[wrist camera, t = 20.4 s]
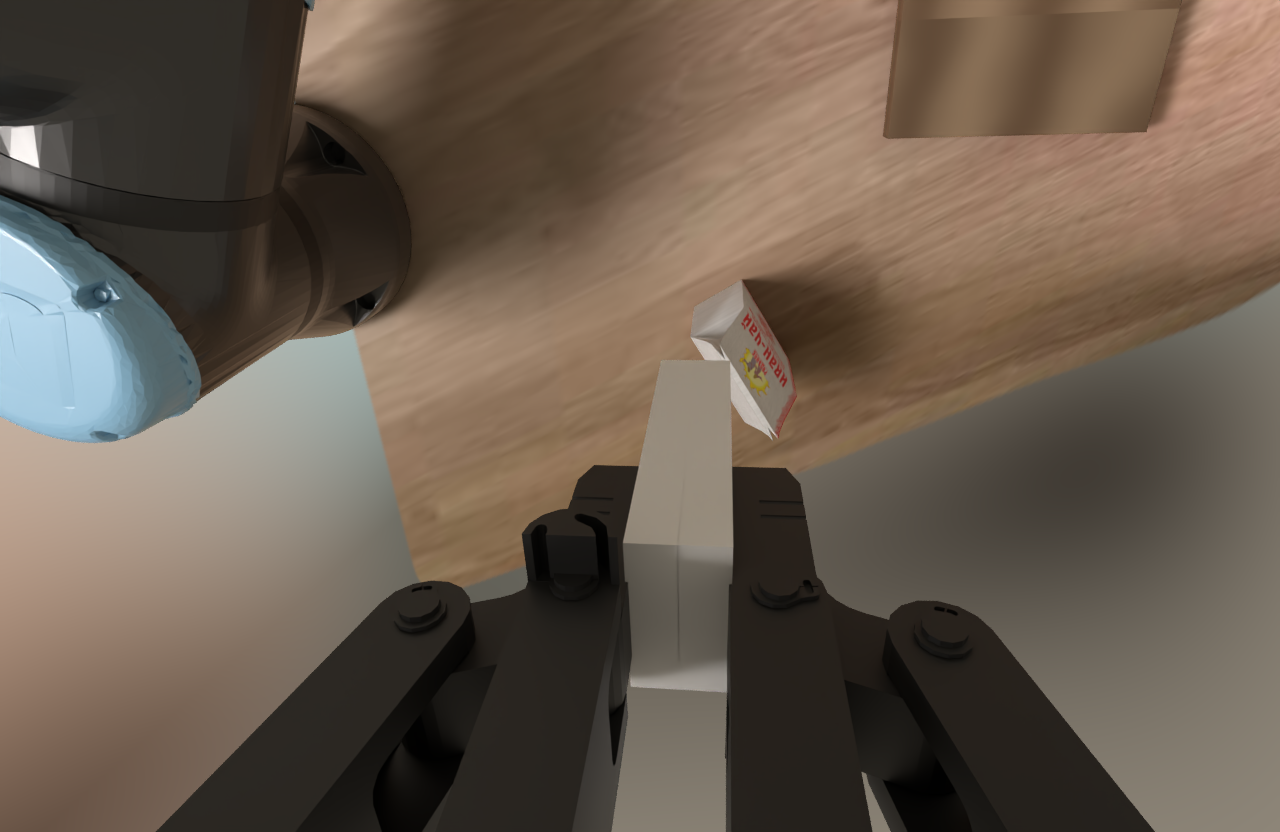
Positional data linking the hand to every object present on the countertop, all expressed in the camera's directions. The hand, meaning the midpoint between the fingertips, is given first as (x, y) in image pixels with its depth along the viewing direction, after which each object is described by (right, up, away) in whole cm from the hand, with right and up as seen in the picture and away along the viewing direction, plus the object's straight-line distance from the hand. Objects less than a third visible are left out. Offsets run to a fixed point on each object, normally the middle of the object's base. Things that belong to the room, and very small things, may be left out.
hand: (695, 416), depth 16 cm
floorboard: (+20, +22, +23) cm, 38 cm away
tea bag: (+6, +6, +33) cm, 34 cm away
